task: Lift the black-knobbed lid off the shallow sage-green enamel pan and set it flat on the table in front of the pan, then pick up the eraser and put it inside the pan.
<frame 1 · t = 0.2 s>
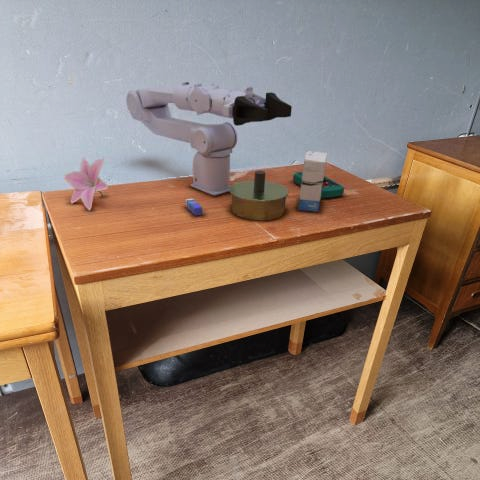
hand: (278, 113, 92), 21 cm above the table, tool horizontal, fingers open, 7 cm apart
pan lid: (258, 191, 101), point 4 cm above the table, touching pan
ink box: (309, 206, 108), on the table
digital multimeter: (316, 189, 118), on the table
eraser: (193, 212, 102), on the table
lily: (90, 202, 105), on the table
pan: (257, 210, 104), on the table
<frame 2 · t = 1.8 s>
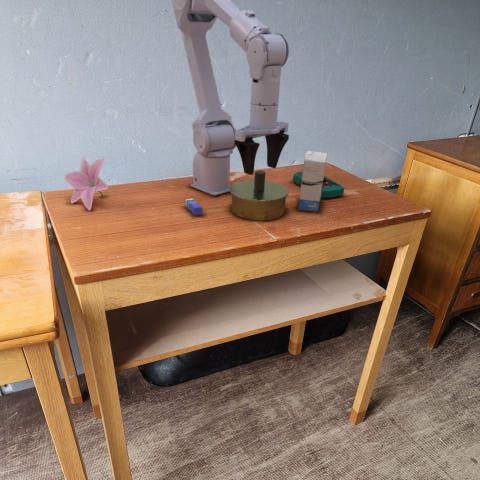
hand: (260, 170, 99), 9 cm above the table, tool pointing down, fingers open, 7 cm apart
nothing on the table moved.
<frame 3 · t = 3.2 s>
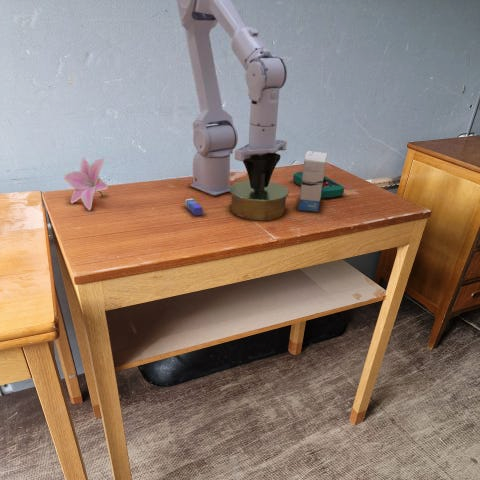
hand: (259, 187, 101), 5 cm above the table, tool pointing down, fingers closed on pan lid, 2 cm apart
pan lid: (259, 191, 101), point 4 cm above the table, touching gripper, pan
everything else where it was.
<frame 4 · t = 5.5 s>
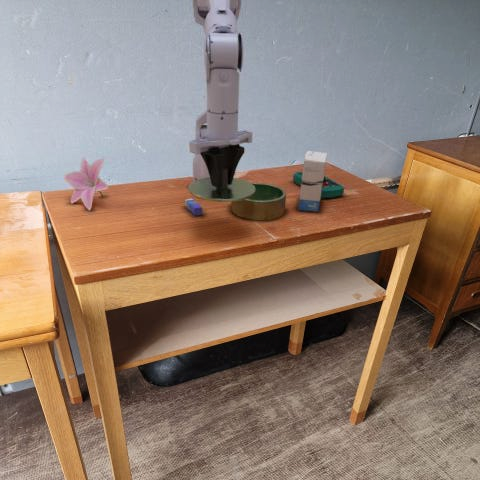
hand: (221, 184, 88), 10 cm above the table, tool pointing down, fingers closed on pan lid, 2 cm apart
pan lid: (221, 189, 89), point 9 cm above the table, touching gripper
everything else where it was.
when the fingers open (2 cm above the table, at t = 7.7 s): pan lid stays where it is, point 1 cm above the table.
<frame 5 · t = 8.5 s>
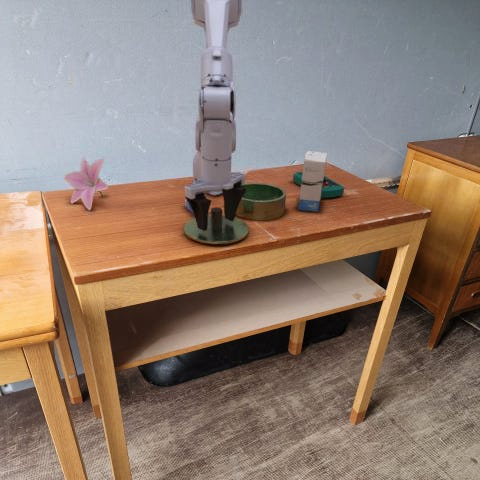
hand: (216, 224, 92), 2 cm above the table, tool pointing down, fingers open, 7 cm apart
pan lid: (216, 230, 93), point 1 cm above the table
everything else where it was.
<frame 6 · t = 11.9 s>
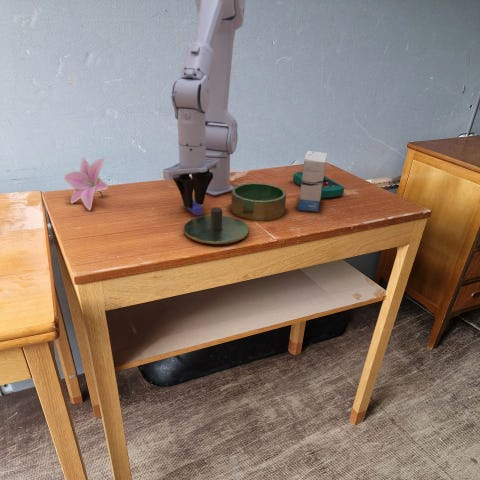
hand: (193, 205, 101), 1 cm above the table, tool pointing down, fingers closed on eraser, 3 cm apart
eraser: (193, 212, 102), on the table, touching gripper
everything else where it was.
when the fingers open (2 cm above the table, at t = 16.0 s): eraser stays where it is, resting on pan.
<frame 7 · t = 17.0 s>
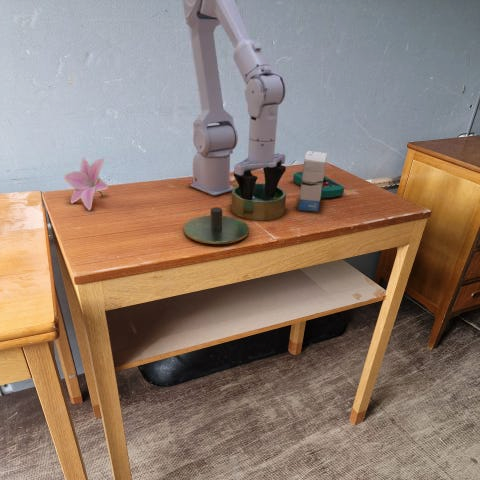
hand: (258, 200, 103), 2 cm above the table, tool pointing down, fingers open, 7 cm apart
eraser: (258, 209, 104), resting on pan
everything else where it was.
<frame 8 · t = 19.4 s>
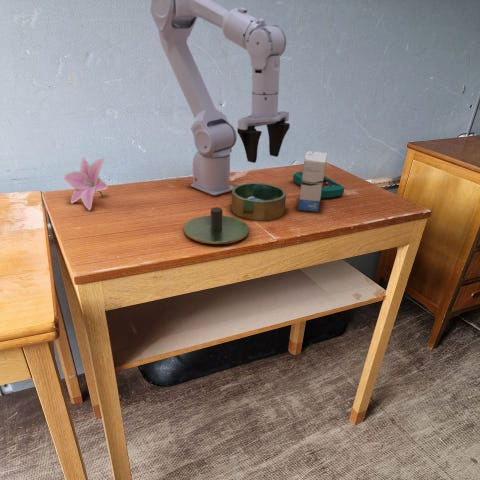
hand: (263, 158, 102), 10 cm above the table, tool pointing down, fingers open, 7 cm apart
nothing on the table moved.
at the end: pan lid inside the target area (0.1 cm from its centre), point 0.6 cm above the table; pan lid tilted 0°; eraser inside the target area in the pan (0.1 cm from its centre), point 0.2 cm above the pan's base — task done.
